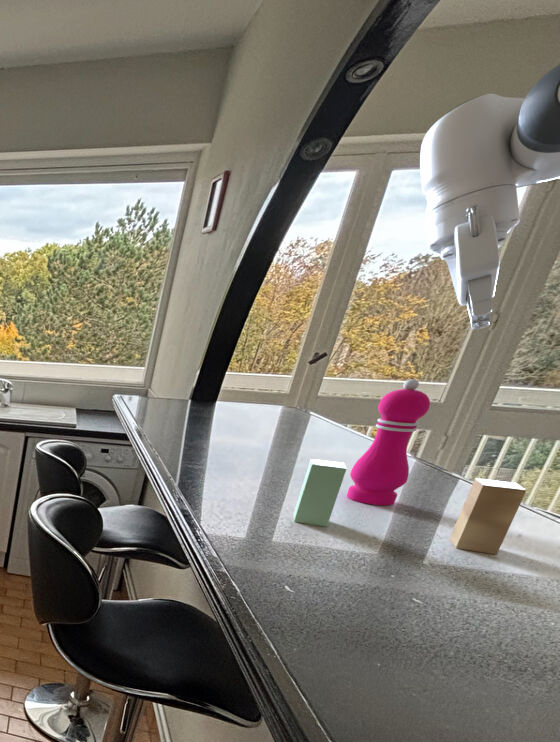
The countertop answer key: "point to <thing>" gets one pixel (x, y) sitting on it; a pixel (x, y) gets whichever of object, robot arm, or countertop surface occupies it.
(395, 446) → the pepper mill
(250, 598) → the countertop surface
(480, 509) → the maple block
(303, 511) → the sage block
